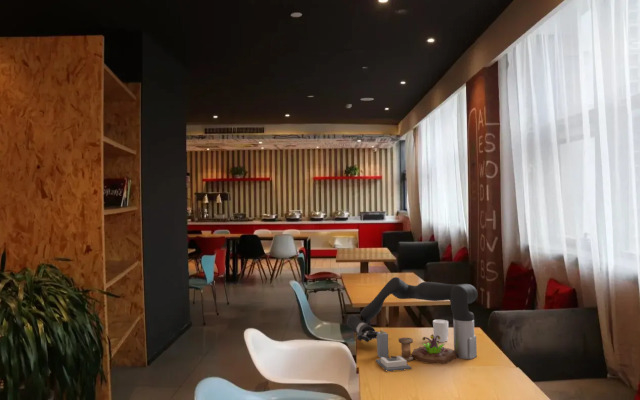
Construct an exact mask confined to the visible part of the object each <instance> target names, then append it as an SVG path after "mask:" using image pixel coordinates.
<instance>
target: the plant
mask: <svg viewBox="0 0 640 400" xmlns="http://www.w3.org/2000/svg"><path fill="white" fill-rule="evenodd" d="M426 339H427V340H428V341H429V342H427V343H422V345H423V346H418V347H416V348H413V350H412V351H411V356H413V360H415V361H418V362H422V363H425V364H439V365H440V364H441V365H446V364H448V363H450V362H452V361H453V360H456V359H457V357H456V353H455V352H454V349H451V348H446V347H444V346H445V344H444V343H443V344H440V345H439V342H436V339H437V336H436V338H435V339H434V333H433V334H431V335H430V337H427V336H426V337H422V341H426ZM438 339H440V337H439V336H438Z"/></svg>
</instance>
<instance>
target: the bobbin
mask: <svg viewBox="0 0 640 400" xmlns="http://www.w3.org/2000/svg"><path fill="white" fill-rule="evenodd" d="M398 342H399V343H400V345H401V355H400V356H401V357H402V358H404V359H405V360H406V361H407V362H412V361H413V360H414V359H413V356H412V354H411V344H412V343H414V340H413V338H410V337H400V338H398ZM396 357H397V356H395V355H394V356H393V355H391V356H390V358H396Z"/></svg>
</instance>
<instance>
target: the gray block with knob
mask: <svg viewBox="0 0 640 400" xmlns="http://www.w3.org/2000/svg"><path fill="white" fill-rule="evenodd" d="M380 331H381V332H380ZM380 331H377V339H376V351H377V353H376V354H377V356H376V357H378V359H381V357H384V358H389V333H387V332H386V331H384V329H380Z"/></svg>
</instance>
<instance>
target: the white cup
mask: <svg viewBox="0 0 640 400" xmlns="http://www.w3.org/2000/svg"><path fill="white" fill-rule="evenodd" d="M432 326H433V335H434V339H435V338H436V336H437V339H436V341H440V342H439V343H446V342H445V341H447V342H448V341H449V339H448V337H449V320H447V319H446V320H445V319H434V320H432ZM438 336H439V337H440V339H438Z"/></svg>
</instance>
